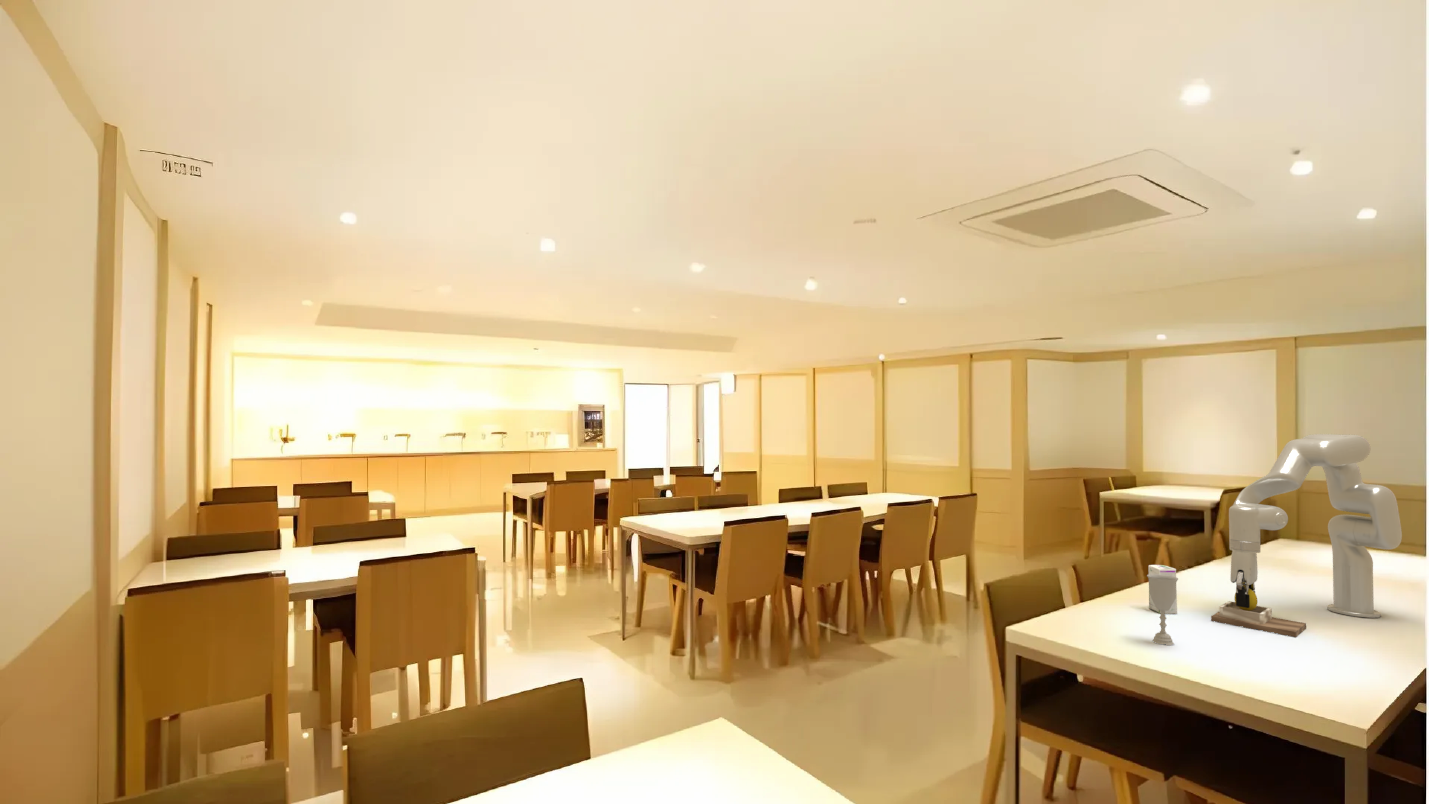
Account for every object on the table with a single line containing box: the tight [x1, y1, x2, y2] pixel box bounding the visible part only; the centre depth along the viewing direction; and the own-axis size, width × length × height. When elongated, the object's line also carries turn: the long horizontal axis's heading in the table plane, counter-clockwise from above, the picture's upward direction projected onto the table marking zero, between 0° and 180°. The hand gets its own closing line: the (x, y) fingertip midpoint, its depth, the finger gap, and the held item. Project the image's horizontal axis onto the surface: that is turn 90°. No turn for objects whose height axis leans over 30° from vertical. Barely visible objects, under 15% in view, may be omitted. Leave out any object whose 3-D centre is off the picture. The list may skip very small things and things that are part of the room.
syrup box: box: [1148, 564, 1178, 615], centre depth 217 cm, size 6×6×14 cm
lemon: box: [1234, 586, 1258, 611], centre depth 206 cm, size 6×6×8 cm
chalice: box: [1146, 573, 1179, 646], centre depth 186 cm, size 7×7×18 cm
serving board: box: [1210, 600, 1307, 638], centre depth 204 cm, size 14×20×4 cm
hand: (1245, 604), depth 206 cm, fingers open, 5 cm apart
